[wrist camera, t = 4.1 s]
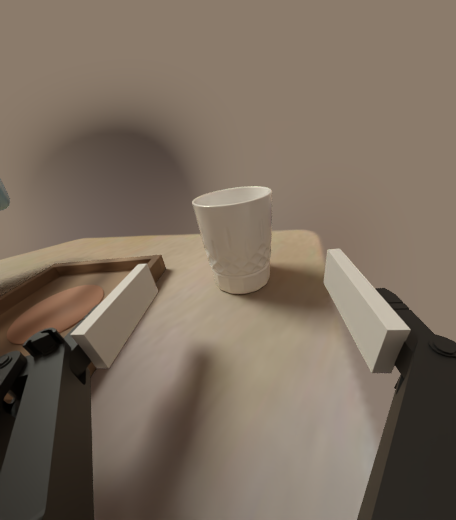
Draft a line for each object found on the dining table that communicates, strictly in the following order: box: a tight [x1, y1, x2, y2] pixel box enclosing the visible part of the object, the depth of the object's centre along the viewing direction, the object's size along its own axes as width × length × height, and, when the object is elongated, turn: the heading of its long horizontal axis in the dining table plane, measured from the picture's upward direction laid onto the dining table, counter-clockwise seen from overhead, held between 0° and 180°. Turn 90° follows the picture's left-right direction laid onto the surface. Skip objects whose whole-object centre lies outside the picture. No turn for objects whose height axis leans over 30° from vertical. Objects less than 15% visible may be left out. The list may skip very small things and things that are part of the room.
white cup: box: [192, 186, 272, 294], centre depth 22 cm, size 8×8×10 cm
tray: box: [0, 255, 166, 404], centre depth 22 cm, size 18×18×2 cm
